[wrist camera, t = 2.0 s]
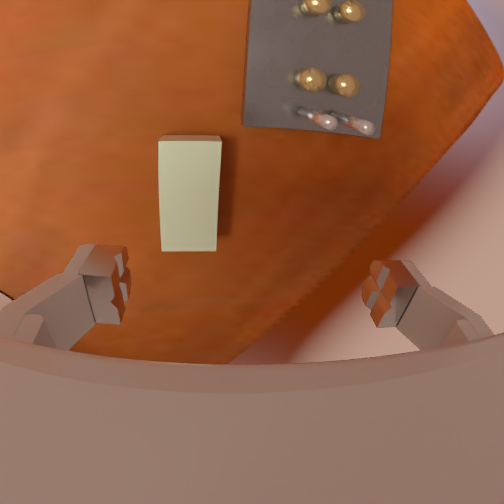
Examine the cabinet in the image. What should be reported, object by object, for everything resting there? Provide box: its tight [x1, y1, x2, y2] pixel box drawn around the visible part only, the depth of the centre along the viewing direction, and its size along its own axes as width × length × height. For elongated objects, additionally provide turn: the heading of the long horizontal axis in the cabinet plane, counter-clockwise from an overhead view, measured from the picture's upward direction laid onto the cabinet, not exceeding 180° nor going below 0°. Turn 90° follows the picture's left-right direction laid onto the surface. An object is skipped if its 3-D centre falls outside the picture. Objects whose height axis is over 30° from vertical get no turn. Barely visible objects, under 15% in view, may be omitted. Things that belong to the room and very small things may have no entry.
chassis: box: [241, 0, 392, 139], centre depth 19 cm, size 16×13×8 cm
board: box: [158, 135, 222, 251], centre depth 26 cm, size 10×5×3 cm, turn 175°
